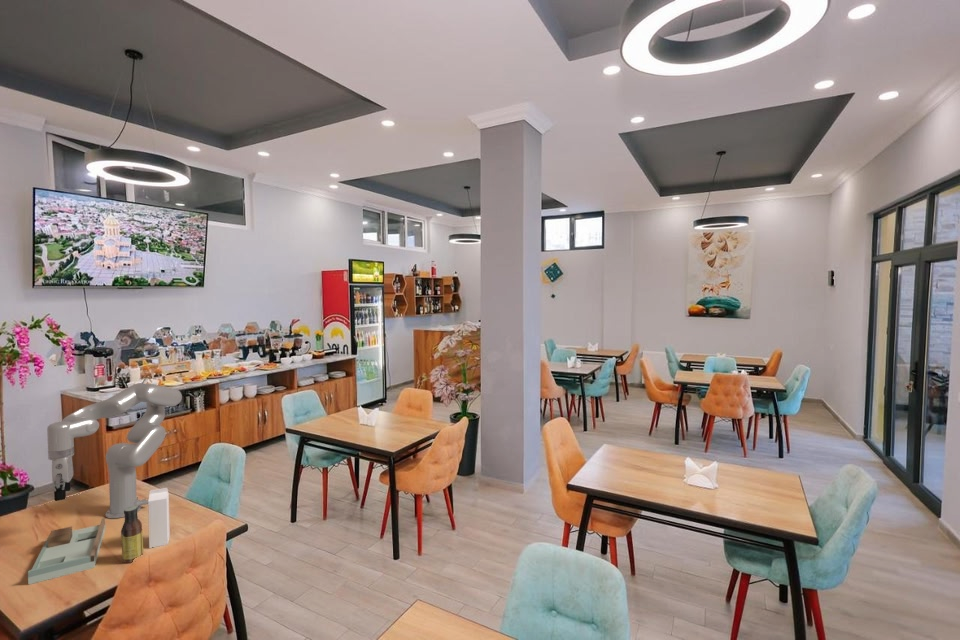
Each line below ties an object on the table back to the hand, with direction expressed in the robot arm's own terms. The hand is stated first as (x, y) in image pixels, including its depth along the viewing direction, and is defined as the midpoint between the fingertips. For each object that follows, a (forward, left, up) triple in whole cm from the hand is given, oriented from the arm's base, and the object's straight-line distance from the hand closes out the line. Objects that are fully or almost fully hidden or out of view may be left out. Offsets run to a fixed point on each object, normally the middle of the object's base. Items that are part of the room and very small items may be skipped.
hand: (62, 495), depth 177 cm
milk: (-32, +24, -18) cm, 44 cm away
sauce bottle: (-24, +32, -18) cm, 44 cm away
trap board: (-4, +15, -18) cm, 24 cm away
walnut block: (0, +8, -16) cm, 17 cm away
